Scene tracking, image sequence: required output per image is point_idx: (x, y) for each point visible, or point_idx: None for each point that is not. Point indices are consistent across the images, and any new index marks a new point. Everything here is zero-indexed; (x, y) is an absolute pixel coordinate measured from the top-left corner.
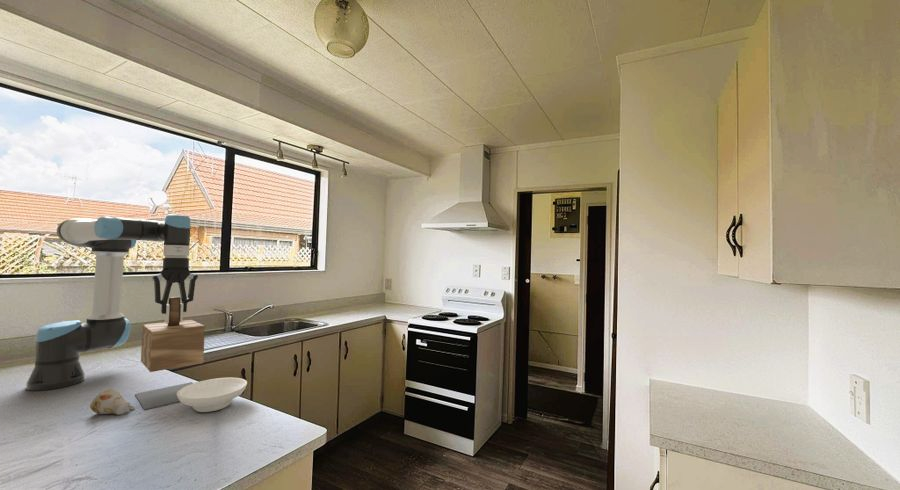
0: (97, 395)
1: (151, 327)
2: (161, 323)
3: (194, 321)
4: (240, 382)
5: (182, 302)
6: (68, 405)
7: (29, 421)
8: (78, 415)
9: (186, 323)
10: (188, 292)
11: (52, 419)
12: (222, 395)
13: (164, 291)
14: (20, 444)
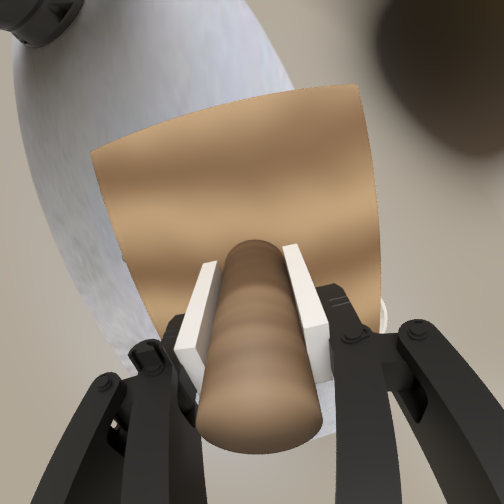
0: (124, 260)
1: (154, 288)
2: (179, 153)
3: (370, 177)
4: (380, 310)
5: (332, 363)
6: (81, 153)
7: (61, 215)
8: (111, 225)
9: (324, 239)
10: (444, 405)
11: (84, 224)
12: (332, 374)
13: (131, 486)
14: (94, 305)
